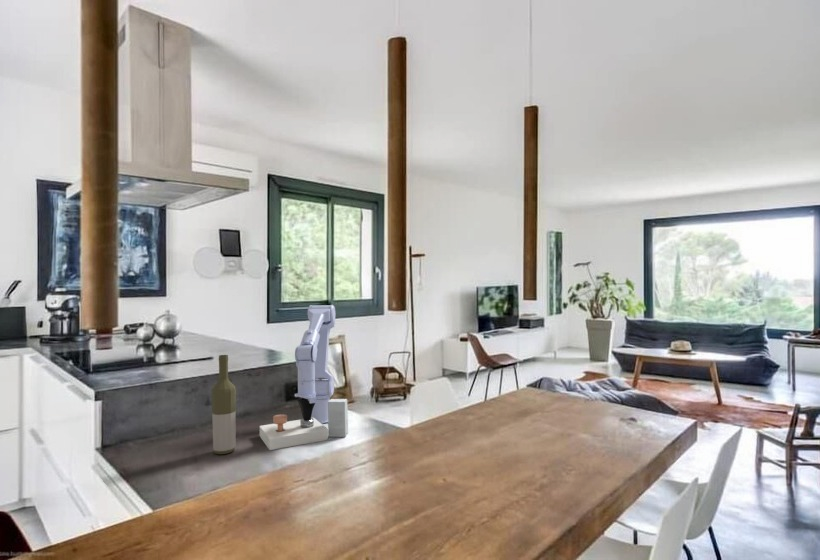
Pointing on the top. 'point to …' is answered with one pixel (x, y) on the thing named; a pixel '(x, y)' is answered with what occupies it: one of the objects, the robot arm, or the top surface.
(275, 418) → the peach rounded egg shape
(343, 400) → the skincare box
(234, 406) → the bottle
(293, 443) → the panel
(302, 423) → the plug
